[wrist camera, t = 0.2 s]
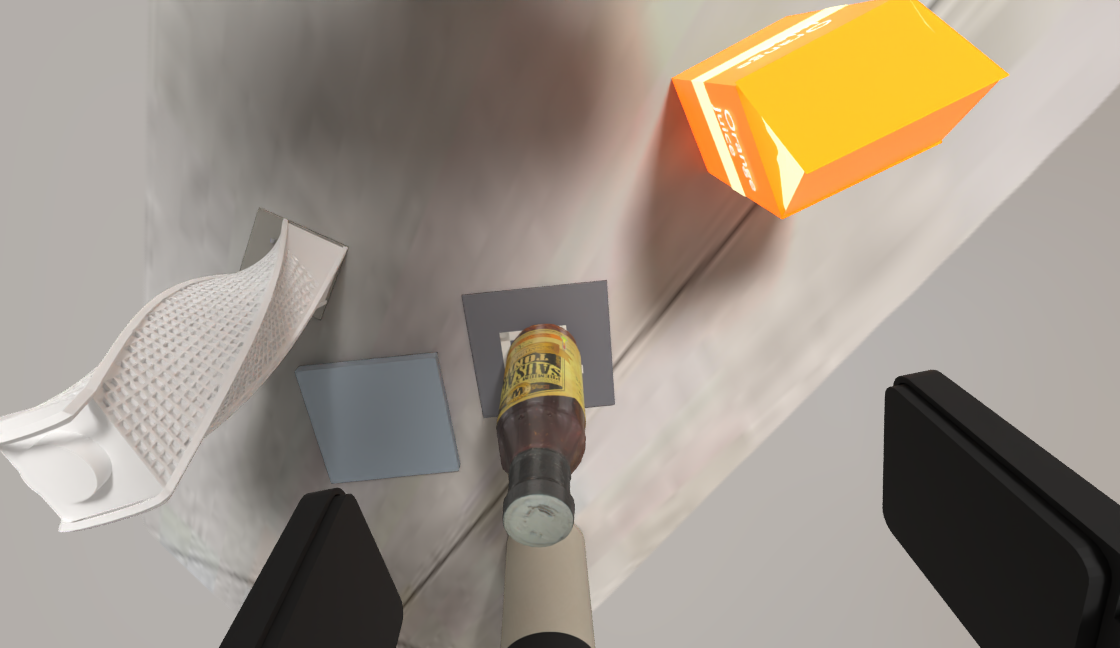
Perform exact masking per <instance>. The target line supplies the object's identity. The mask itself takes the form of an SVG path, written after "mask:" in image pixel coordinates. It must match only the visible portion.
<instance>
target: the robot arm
mask: <svg viewBox="0 0 1120 648" xmlns="http://www.w3.org/2000/svg"><path fill="white" fill-rule="evenodd" d="M883 514H884V518H885V520H886V524H887V525H888V528H889V529H890V531H891V532H892V534H893V535H894V536H895V537H896V539H897V540H898V541H899V543H900V544H901V545H902V547H903V548H904V549H905V550H906V552H907V553H908V554H909V556H910V557H911V558H912V559H913V561H914V562H915V563H916V565H917V566H918V567H919V568H920V570H921V571H922V572H923V573H924V575H925V576H926V578H927V579H928V580H929V581H930V583H931V584H932V585H933V586H934V588H935V589H936V591H937V592H938V593H939V594H940V596H941V597H942V598H943V600H944V601H945V602H946V603H947V605H948V606H949V607H950V609H951V610H952V611H953V612H954V614H955V615H956V616H957V618H958V619H959V620H960V622H961V623H962V624H963V626H964V627H965V628H966V629H967V630H968V632H969V633H970V635H971V636H972V637H973V639H974V640H975V641H976V642H977V644H978V645H979V646H980V648H1120V505H1119V504H1117V503H1116V502H1115V501H1113V500H1112V499H1110V498H1109V497H1108V496H1107V495H1105V494H1104V493H1102V492H1101V491H1100V490H1098V489H1097V488H1096V487H1094V486H1093V485H1092V484H1090V483H1089V482H1088V481H1086V480H1085V479H1084V478H1082V477H1081V476H1080V475H1078V474H1077V473H1075V472H1074V471H1073V470H1072V469H1070V468H1069V467H1067V466H1066V465H1065V464H1063V463H1062V462H1061V461H1059V460H1058V459H1057V458H1055V457H1054V456H1052V455H1051V454H1050V453H1049V452H1047V451H1046V450H1045V449H1043V448H1042V447H1040V446H1039V445H1038V444H1036V443H1035V442H1034V441H1032V440H1031V439H1030V438H1028V437H1027V436H1026V435H1024V434H1023V433H1022V432H1020V431H1019V430H1018V429H1016V428H1015V427H1014V426H1012V425H1011V424H1009V423H1008V422H1007V421H1005V420H1004V419H1003V418H1001V417H1000V416H999V415H997V414H996V413H995V412H993V411H992V410H991V409H989V408H988V407H986V406H985V405H984V404H983V403H981V402H980V401H978V400H977V399H976V398H974V397H973V396H972V395H970V394H969V393H968V392H966V391H965V390H963V389H962V388H961V387H960V386H958V385H957V384H956V383H954V382H953V381H952V380H950V379H949V378H947V377H946V376H945V375H943V374H942V373H941V372H939V371H937V370H928V371H923V372H918V373H913V374H908V375H903V376H899V377H897V378H896V379H895V381H894V385H893V386H892V387H889V388H887V390H886V392H885V415H884V462H883ZM402 620H403V606H402V601H401V598H400V596H399V594H398V591H397V589H396V587H395V585H394V583H393V580H392V578H391V576H390V574H389V572H388V569H387V567H386V565H385V563H384V560H383V558H382V556H381V554H380V552H379V549H378V547H377V545H376V543H375V540H374V538H373V536H372V534H371V532H370V529H369V527H368V525H367V523H366V521H365V518H364V516H363V514H362V512H361V509H360V507H359V505H358V503H357V501H356V499H355V497H354V496H353V495H352V494H345V493H344V491H343V490H342V489H340V488H333V489H328V490H323V491H318V492H313V493H308V494H306V495H304V496H303V498H302V499H301V500H300V502H299V504H298V506H297V508H296V509H295V511H294V513H293V515H292V517H291V518H290V520H289V522H288V524H287V526H286V527H285V529H284V531H283V533H282V535H281V536H280V538H279V540H278V542H277V544H276V545H275V547H274V549H273V551H272V553H271V555H270V556H269V558H268V560H267V562H266V564H265V565H264V567H263V569H262V571H261V573H260V574H259V576H258V578H257V580H256V582H255V583H254V585H253V587H252V589H251V591H250V592H249V594H248V596H247V598H246V600H245V602H244V603H243V605H242V607H241V609H240V611H239V612H238V614H237V616H236V618H235V620H234V621H233V623H232V625H231V627H230V629H229V630H228V632H227V634H226V636H225V638H224V639H223V641H222V643H221V645H220V647H219V648H396V646H397V642H398V637H399V633H400V629H401V625H402Z"/></svg>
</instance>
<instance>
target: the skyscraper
mask: <svg viewBox="0 0 1120 648" xmlns="http://www.w3.org/2000/svg"><path fill="white" fill-rule="evenodd" d="M347 250H348V247H347V246H345V245H343V244H341V243H338V242H336V241H334V240H332V239H329V238H327V237H325V236H323V235H320V234H318V233H316V232H314V231H311V230H309V229H307V228H305V227H302V226H300V225H298V224H296V223H293V222H291V221H289V220H287V219H285V218H282V217H280V216H278V215H275V214H273V213H271V212H269V211H266V210H264V209H262V208H259V209H258V212H257V216H256V219H255V222H254V225H253V229H252V232H251V235H250V238H249V242H248V245H247V248H246V251H245V255H244V258H243V261H242V264H241V268H240V271H239V272H237V273H234V274H221V275H212V276H205V277H201V278H196V279H192V280H189V281H186V282H183V283H180V284H178V285H175V286H173V287H171V288H169V289H167V290H165V291H164V292H162V293H161V294H159V295H157V296H156V297H155V298H153V299H152V300H151V301H150V302H148V303H147V304H146V305H145V306H144V307H143V308H142V309H141V310H140V311H139V312H138V313H137V314H136V315H135V316H134V317H133V318H132V320H131V321H130V322H129V323H128V325H127V326H126V327H125V329H124V330H123V331H122V332H121V333H120V335H119V337H118V338H117V339H116V341H115V342H114V344H113V345H112V347H111V348H110V350H109V351H108V352H107V354H106V355H105V357H104V358H103V360H102V361H101V363H100V364H99V365H98V366H97V367H96V368H95V369H93V370H92V371H91V372H90V373H89V374H87V375H86V376H85V377H84V378H83V379H81V380H80V381H78V382H77V383H75V384H74V385H73V386H71V387H70V388H68V389H67V390H65V391H64V392H62V393H60V394H59V395H57V396H55V397H53V398H52V399H50V400H48V401H46V402H44V403H42V404H40V405H38V406H36V407H34V408H30V409H27V410H23V411H19V412H15V413H12V414H8V415H4V416H0V451H1V452H2V454H3V455H4V456H5V457H6V458H7V459H8V460H9V461H10V462H11V464H12V465H13V466H14V467H15V468H16V469H17V470H18V471H19V473H20V475H21V477H22V479H23V480H24V482H25V483H26V484H27V485H28V486H29V487H30V488H31V489H32V490H33V491H35V492H36V493H38V494H39V495H40V496H41V497H42V498H43V499H44V500H45V501H46V502H47V503H48V505H49V506H51V508H52V509H53V510H54V511H55V512H56V513H57V514H58V515H59V517H60V518H61V519H62V520H61V522H60V526H59V529H58V530H59V532H71V531H80V530H85V529H90V528H93V527H98V526H101V525H105V524H109V523H113V522H117V521H120V520H123V519H126V518H130V517H133V516H136V515H139V514H142V513H145V512H148V511H150V510H153V509H155V508H157V507H160V506H161V505H163V504H165V503H166V502H167V501H168V500H169V499H170V497H171V496H172V494H173V492H174V490H175V489H176V487H177V485H178V483H179V481H180V480H181V478H182V476H183V474H184V472H185V471H186V469H187V467H188V465H189V463H190V462H191V460H192V458H193V456H194V454H195V453H196V451H197V449H198V447H199V445H200V444H201V442H202V440H203V438H205V437H206V436H207V435H209V434H210V433H211V432H212V431H214V430H215V429H216V428H217V427H218V426H220V425H221V424H222V423H223V422H224V421H226V420H227V419H228V418H229V417H230V416H231V415H232V414H233V413H234V412H236V411H237V410H238V409H239V408H240V407H241V406H242V405H243V404H244V403H245V402H246V401H247V400H248V399H249V398H250V397H251V396H252V395H253V394H254V393H255V392H256V391H257V390H258V388H259V387H260V386H261V385H262V384H263V383H264V382H265V381H266V380H267V378H268V377H269V376H270V375H271V374H272V372H273V371H274V370H275V369H276V368H277V366H278V365H279V364H280V362H281V361H282V360H283V358H284V357H285V356H286V354H287V353H288V352H289V350H290V349H291V348H292V346H293V345H294V343H295V342H296V340H297V339H298V337H299V336H300V334H301V333H302V331H303V330H304V328H305V327H306V325H307V324H308V322H309V320H310V319H311V317H314V318H317V319H319V320H321V317H322V315H323V312H324V309H325V307H326V304H327V302H328V299H329V296H330V294H331V291H332V288H333V286H334V283H335V280H336V278H337V275H338V273H339V270H340V267H341V265H342V262H343V259H344V257H345V254H346V252H347ZM153 497H154V498H153ZM150 498H152V499H150ZM146 499H149V500H147V501H145V502H142V503H139V504H137V505H134V506H131V507H128V508H125V509H122V510H118V511H115V512H111V513H108V514H105V515H101V516H98V517H94V518H90V519H86V520H83V519H85V518H86V517H90V516H93V515H96V514H99V513H103V512H106V511H109V510H113V509H116V508H120V507H123V506H126V505H129V504H133V503H136V502H140V501H143V500H146Z"/></svg>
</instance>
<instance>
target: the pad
mask: <svg viewBox="0 0 1120 648" xmlns="http://www.w3.org/2000/svg"><path fill="white" fill-rule="evenodd" d="M295 375H296V378H297V381H298V384H299V387H300V390H301V393H302V396H303V399H304V402H305V405H306V408H307V411H308V414H309V417H310V420H311V423H312V426H313V429H314V432H315V435H316V438H317V441H318V444H319V448H320V451H321V454H322V457H323V460H324V463H325V466H326V469H327V472H328V475H329V478H330V481H331V484H333V483H343V482H353V481H363V480H373V479H382V478H392V477H402V476H412V475H422V474H432V473H441V472H451V471H459V468H460V460H459V455H458V450H457V446H456V441H455V436H454V431H453V426H452V422H451V417H450V412H449V407H448V402H447V398H446V393H445V388H444V383H443V378H442V373H441V369H440V364H439V359H438V354H437V352H434V353H424V354H414V355H405V356H395V357H385V358H375V359H366V360H356V361H346V362H336V363H327V364H317V365H307V366H299V367H298V368H297V370H296V371H295Z"/></svg>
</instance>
